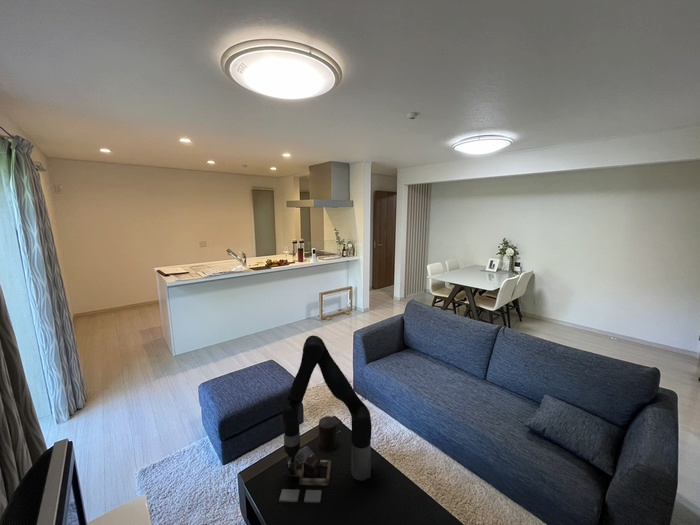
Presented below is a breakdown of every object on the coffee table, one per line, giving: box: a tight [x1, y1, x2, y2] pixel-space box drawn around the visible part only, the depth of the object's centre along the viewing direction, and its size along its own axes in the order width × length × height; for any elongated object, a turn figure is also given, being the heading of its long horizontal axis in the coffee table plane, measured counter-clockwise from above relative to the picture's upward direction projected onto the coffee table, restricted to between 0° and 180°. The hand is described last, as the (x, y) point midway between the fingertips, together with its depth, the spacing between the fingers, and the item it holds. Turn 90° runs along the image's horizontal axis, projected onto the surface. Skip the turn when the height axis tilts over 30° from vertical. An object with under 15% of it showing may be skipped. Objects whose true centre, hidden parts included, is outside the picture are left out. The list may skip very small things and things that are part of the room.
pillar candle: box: [318, 415, 338, 452], centre depth 156 cm, size 10×10×15 cm
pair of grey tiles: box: [278, 488, 322, 504], centre depth 128 cm, size 18×5×1 cm, turn 88°
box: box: [304, 453, 321, 478], centre depth 139 cm, size 6×6×7 cm
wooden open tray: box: [288, 459, 332, 487], centre depth 138 cm, size 20×11×6 cm, turn 88°
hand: (292, 471), depth 139 cm, fingers closed on wooden open tray, 3 cm apart
